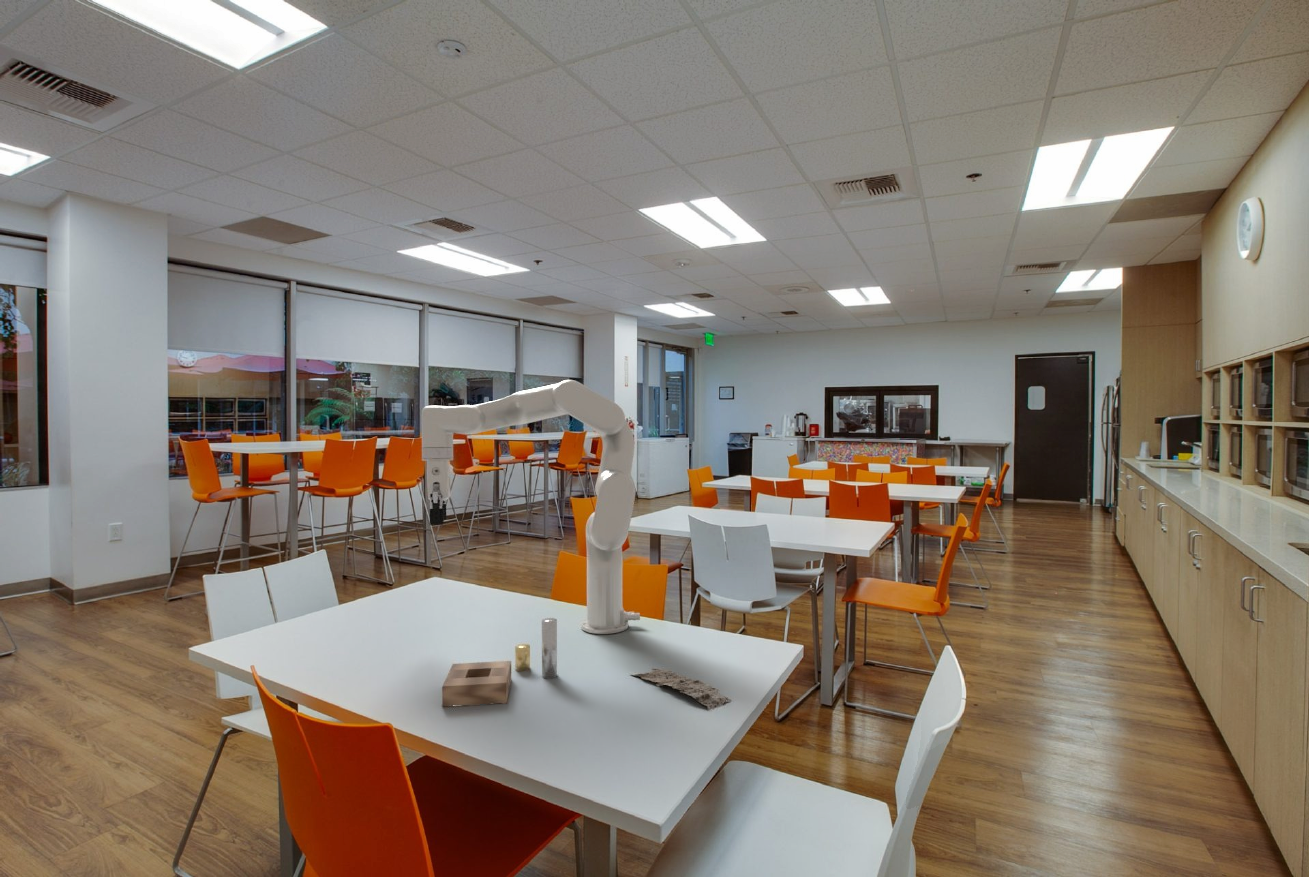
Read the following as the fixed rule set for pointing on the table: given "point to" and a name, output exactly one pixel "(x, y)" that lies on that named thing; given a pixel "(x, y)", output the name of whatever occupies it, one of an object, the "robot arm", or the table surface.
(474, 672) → the socket block
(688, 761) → the table surface
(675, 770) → the table surface
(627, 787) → the table surface
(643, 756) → the table surface
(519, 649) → the short pin
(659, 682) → the stone fragment
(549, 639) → the long pin
